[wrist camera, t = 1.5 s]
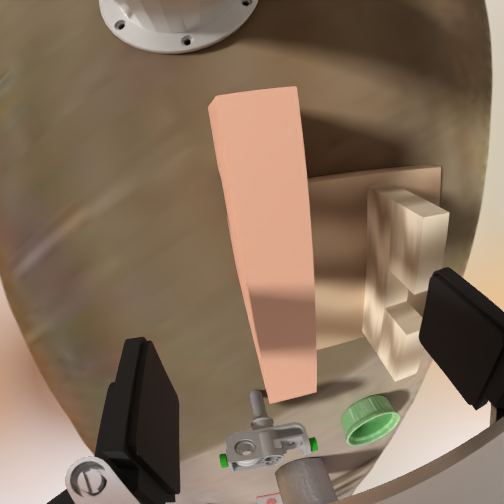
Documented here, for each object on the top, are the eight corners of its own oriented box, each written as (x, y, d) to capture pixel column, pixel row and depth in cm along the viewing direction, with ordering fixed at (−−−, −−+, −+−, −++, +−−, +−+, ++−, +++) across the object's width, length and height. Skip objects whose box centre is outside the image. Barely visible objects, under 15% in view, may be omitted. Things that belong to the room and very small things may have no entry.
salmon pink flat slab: (207, 107, 22) (216, 95, 9) (240, 102, 22) (296, 86, 9) (236, 267, 28) (269, 403, 15) (263, 262, 28) (316, 392, 15)
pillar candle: (280, 481, 51) (297, 541, 38) (269, 467, 46) (287, 536, 33) (326, 467, 51) (347, 525, 38) (320, 450, 47) (346, 518, 33)
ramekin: (387, 383, 40) (399, 404, 37) (390, 409, 44) (400, 428, 41) (333, 409, 41) (342, 432, 37) (342, 432, 45) (351, 452, 41)
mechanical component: (295, 393, 37) (317, 456, 28) (216, 406, 36) (224, 473, 27) (295, 378, 36) (319, 445, 27) (212, 392, 35) (219, 463, 26)
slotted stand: (291, 180, 25) (337, 217, 17) (431, 163, 27) (500, 190, 18) (304, 343, 33) (332, 408, 25) (417, 309, 35) (460, 358, 26)
